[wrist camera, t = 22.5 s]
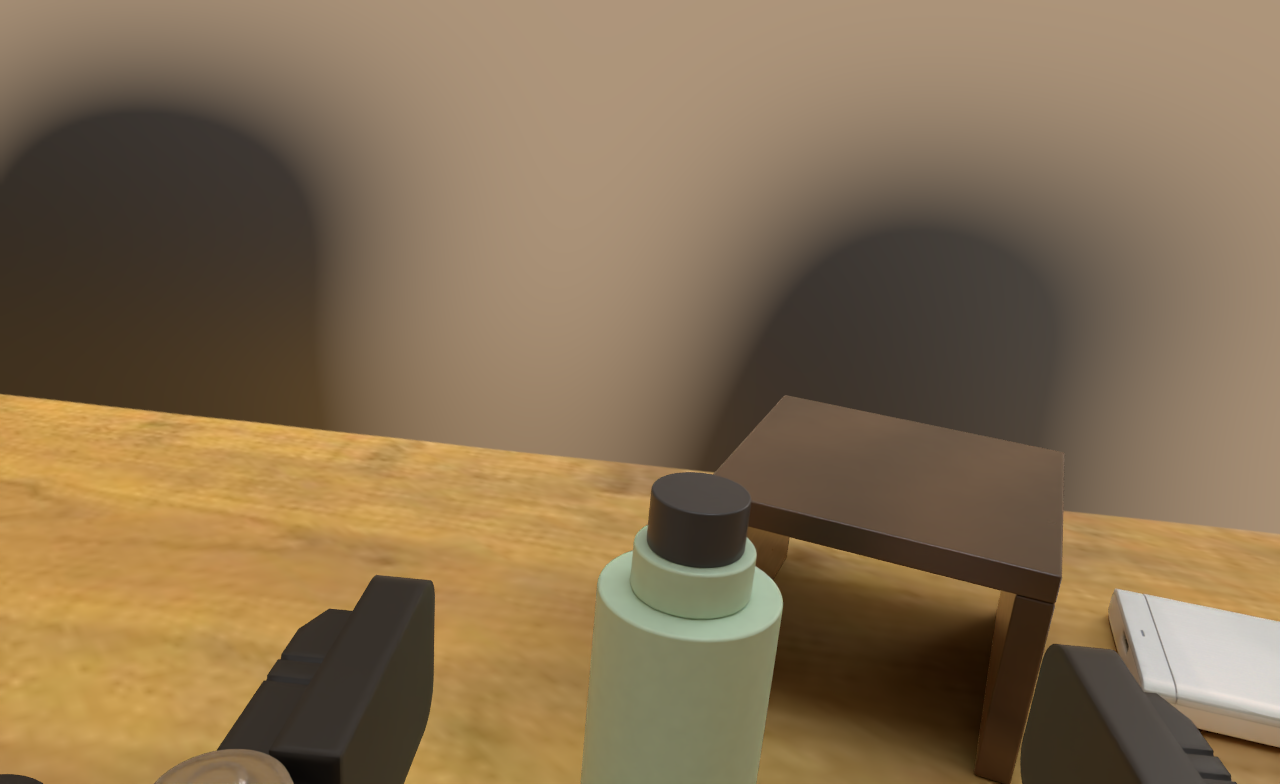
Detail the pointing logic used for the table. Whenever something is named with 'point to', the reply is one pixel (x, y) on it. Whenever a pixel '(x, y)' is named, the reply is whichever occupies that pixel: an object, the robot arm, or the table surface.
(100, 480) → the table surface
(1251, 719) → the hard drive
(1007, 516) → the stand
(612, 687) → the bottle
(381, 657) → the robot arm
